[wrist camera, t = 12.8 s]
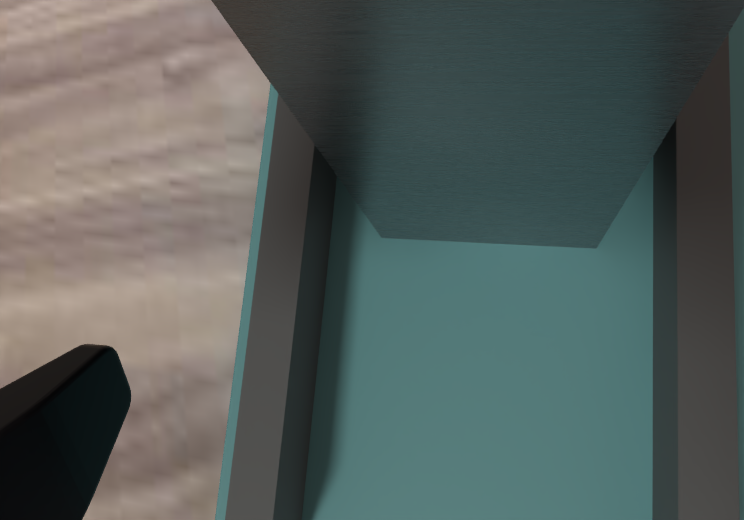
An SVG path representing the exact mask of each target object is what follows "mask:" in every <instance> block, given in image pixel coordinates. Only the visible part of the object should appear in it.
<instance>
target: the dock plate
mask: <svg viewBox="0 0 744 520" xmlns="http://www.w3.org/2000/svg"><path fill="white" fill-rule="evenodd" d="M215 520H744V8H743V10H742V12H741V13H740V15H739V17H738V18H737V20H736V21H735V23H734V25H733V26H732V28H731V30H730V31H729V33H728V35H727V36H726V38H725V39H724V41H723V43H722V44H721V46H720V48H719V49H718V51H717V52H716V54H715V56H714V57H713V59H712V61H711V62H710V64H709V66H708V67H707V69H706V70H705V72H704V74H703V75H702V77H701V79H700V80H699V82H698V84H697V85H696V87H695V88H694V90H693V92H692V93H691V95H690V97H689V98H688V100H687V102H686V103H685V105H684V106H683V108H682V110H681V111H680V113H679V115H678V116H677V118H676V119H675V121H674V123H673V124H672V126H671V128H670V129H669V131H668V133H667V134H666V136H665V137H664V139H663V141H662V142H661V144H660V146H659V147H658V149H657V151H656V152H655V154H654V155H653V157H652V159H651V160H650V162H649V164H648V165H647V167H646V168H645V170H644V172H643V173H642V175H641V177H640V178H639V180H638V182H637V183H636V185H635V186H634V188H633V190H632V191H631V193H630V195H629V196H628V198H627V200H626V201H625V203H624V204H623V206H622V208H621V209H620V211H619V213H618V214H617V216H616V217H615V219H614V221H613V222H612V224H611V226H610V227H609V229H608V231H607V232H606V234H605V235H604V237H603V239H602V240H601V242H600V244H599V245H598V247H597V249H592V248H572V247H552V246H532V245H512V244H491V243H471V242H451V241H431V240H410V239H390V238H381V236H380V235H379V234H378V232H377V231H376V229H375V228H374V227H373V225H372V224H371V222H370V221H369V220H368V218H367V217H366V215H365V214H364V213H363V211H362V210H361V209H360V207H359V206H358V204H357V203H356V202H355V200H354V199H353V197H352V196H351V195H350V193H349V192H348V190H347V189H346V188H345V186H344V185H343V183H342V182H341V181H340V179H339V178H338V176H337V175H336V174H335V172H334V171H333V169H332V168H331V167H330V165H329V164H328V162H327V161H326V160H325V158H324V157H323V155H322V154H321V153H320V151H319V150H318V148H317V147H316V146H315V144H314V143H313V141H312V140H311V139H310V137H309V136H308V134H307V133H306V132H305V130H304V129H303V127H302V126H301V125H300V123H299V122H298V120H297V119H296V118H295V116H294V115H293V113H292V112H291V111H290V109H289V108H288V106H287V105H286V104H285V102H284V101H283V100H282V98H281V97H280V95H279V94H278V93H277V91H276V90H275V88H274V87H273V86H272V84H271V85H270V93H269V101H268V109H267V116H266V124H265V132H264V140H263V148H262V156H261V163H260V171H259V179H258V187H257V195H256V203H255V210H254V218H253V226H252V234H251V242H250V250H249V257H248V265H247V273H246V281H245V289H244V297H243V305H242V312H241V320H240V328H239V336H238V344H237V352H236V359H235V367H234V375H233V383H232V391H231V399H230V406H229V414H228V422H227V430H226V438H225V446H224V453H223V461H222V469H221V477H220V485H219V493H218V500H217V508H216V516H215Z"/></svg>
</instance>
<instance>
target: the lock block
mask: <svg viewBox="0 0 744 520" xmlns="http://www.w3.org/2000/svg"><path fill="white" fill-rule="evenodd" d="M212 2H213V3H214V4H215V6H216V7H217V9H218V10H219V11H220V13H221V14H222V16H223V17H224V18H225V20H226V21H227V23H228V24H229V25H230V27H231V28H232V30H233V31H234V32H235V34H236V35H237V37H238V38H239V39H240V41H241V42H242V44H243V45H244V46H245V48H246V49H247V51H248V52H249V53H250V55H251V56H252V58H253V59H254V60H255V62H256V63H257V65H258V66H259V67H260V69H261V70H262V72H263V73H264V74H265V76H266V77H267V79H268V80H269V81H270V83H271V84H272V86H273V87H274V88H275V90H276V91H277V93H278V94H279V95H280V97H281V98H282V100H283V101H284V102H285V104H286V105H287V106H288V108H289V109H290V111H291V112H292V113H293V115H294V116H295V118H296V119H297V120H298V122H299V123H300V125H301V126H302V127H303V129H304V130H305V132H306V133H307V134H308V136H309V137H310V139H311V140H312V141H313V143H314V144H315V146H316V147H317V148H318V150H319V151H320V153H321V154H322V155H323V157H324V158H325V160H326V161H327V162H328V164H329V165H330V167H331V168H332V169H333V171H334V172H335V174H336V175H337V176H338V178H339V179H340V181H341V182H342V183H343V185H344V186H345V188H346V189H347V190H348V192H349V193H350V195H351V196H352V197H353V199H354V200H355V202H356V203H357V204H358V206H359V207H360V209H361V210H362V211H363V213H364V214H365V215H366V217H367V218H368V220H369V221H370V222H371V224H372V225H373V227H374V228H375V229H376V231H377V232H378V234H379V235H380V236H381V238H390V239H410V240H431V241H451V242H471V243H491V244H512V245H532V246H552V247H572V248H592V249H597V247H598V245H599V244H600V242H601V240H602V239H603V237H604V235H605V234H606V232H607V231H608V229H609V227H610V226H611V224H612V222H613V221H614V219H615V217H616V216H617V214H618V213H619V211H620V209H621V208H622V206H623V204H624V203H625V201H626V200H627V198H628V196H629V195H630V193H631V191H632V190H633V188H634V186H635V185H636V183H637V182H638V180H639V178H640V177H641V175H642V173H643V172H644V170H645V168H646V167H647V165H648V164H649V162H650V160H651V159H652V157H653V155H654V154H655V152H656V151H657V149H658V147H659V146H660V144H661V142H662V141H663V139H664V137H665V136H666V134H667V133H668V131H669V129H670V128H671V126H672V124H673V123H674V121H675V119H676V118H677V116H678V115H679V113H680V111H681V110H682V108H683V106H684V105H685V103H686V102H687V100H688V98H689V97H690V95H691V93H692V92H693V90H694V88H695V87H696V85H697V84H698V82H699V80H700V79H701V77H702V75H703V74H704V72H705V70H706V69H707V67H708V66H709V64H710V62H711V61H712V59H713V57H714V56H715V54H716V52H717V51H718V49H719V48H720V46H721V44H722V43H723V41H724V39H725V38H726V36H727V35H728V33H729V31H730V30H731V28H732V26H733V25H734V23H735V21H736V20H737V18H738V17H739V15H740V13H741V12H742V10H743V8H744V0H212Z"/></svg>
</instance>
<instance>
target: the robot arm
mask: <svg viewBox="0 0 744 520" xmlns="http://www.w3.org/2000/svg"><path fill="white" fill-rule="evenodd" d="M130 402H131V390H130V386H129V384H128V381H127V378H126V375H125V373H124V370H123V367H122V364H121V362H120V359H119V356H118V354H117V352H116V351H115V350H114V349H113V348H112V347H110V346H106V345H94V344H84V345H80V346H78V347H76V348H74V349H73V350H71V351H69V352H67V353H65V354H63V355H62V356H60V357H58V358H56V359H54V360H52V361H51V362H49V363H47V364H45V365H43V366H41V367H40V368H38V369H36V370H34V371H32V372H30V373H28V374H27V375H25V376H23V377H21V378H19V379H17V380H16V381H14V382H12V383H10V384H8V385H6V386H5V387H3V388H1V389H0V520H82V519H83V517H84V515H85V513H86V511H87V509H88V506H89V504H90V502H91V500H92V498H93V495H94V493H95V491H96V488H97V486H98V483H99V481H100V478H101V476H102V474H103V471H104V469H105V466H106V464H107V461H108V459H109V456H110V454H111V451H112V449H113V447H114V444H115V442H116V439H117V437H118V434H119V432H120V429H121V427H122V425H123V422H124V420H125V417H126V415H127V412H128V410H129V407H130Z"/></svg>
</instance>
